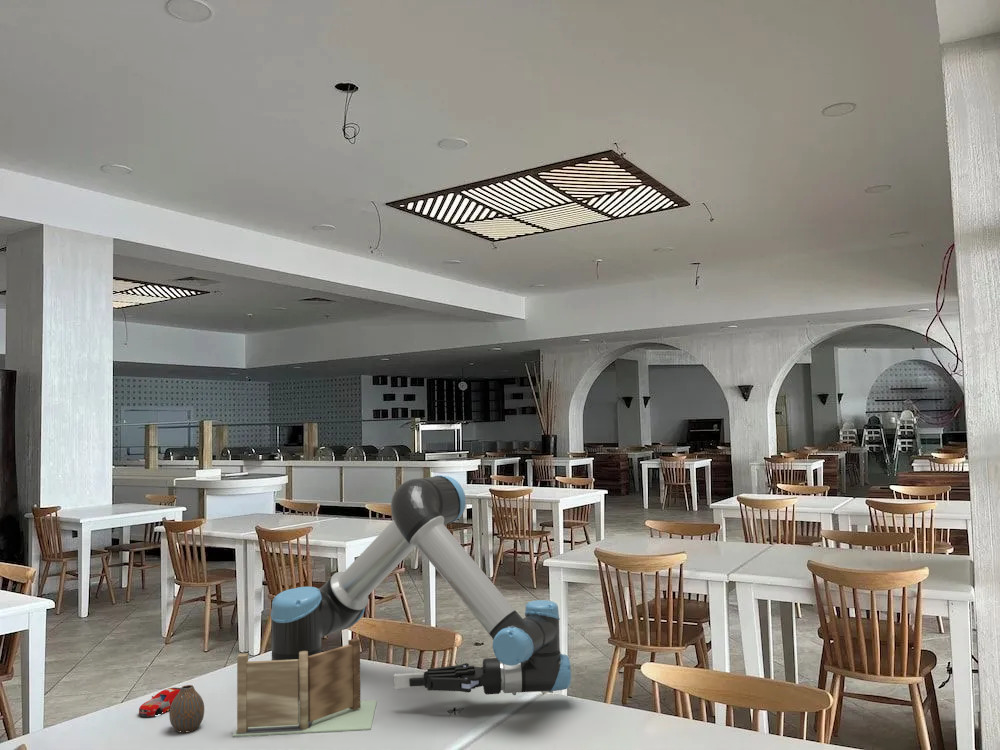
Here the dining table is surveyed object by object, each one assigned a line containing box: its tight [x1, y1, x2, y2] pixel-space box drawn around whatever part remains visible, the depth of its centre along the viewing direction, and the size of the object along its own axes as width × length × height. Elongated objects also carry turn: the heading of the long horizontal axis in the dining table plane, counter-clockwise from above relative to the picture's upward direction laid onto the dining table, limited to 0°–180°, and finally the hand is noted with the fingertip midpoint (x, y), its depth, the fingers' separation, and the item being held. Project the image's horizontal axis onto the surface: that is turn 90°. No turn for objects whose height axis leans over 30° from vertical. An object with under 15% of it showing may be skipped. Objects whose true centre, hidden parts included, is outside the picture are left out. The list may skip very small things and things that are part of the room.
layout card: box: [232, 699, 378, 738], centre depth 170 cm, size 17×28×1 cm, turn 95°
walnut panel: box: [308, 638, 361, 722], centre depth 170 cm, size 13×2×15 cm, turn 140°
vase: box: [168, 684, 205, 733], centre depth 166 cm, size 7×7×9 cm
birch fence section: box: [236, 651, 308, 733], centre depth 164 cm, size 2×14×16 cm, turn 94°
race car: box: [138, 687, 181, 718], centre depth 179 cm, size 13×5×4 cm, turn 154°
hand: (394, 681), depth 173 cm, fingers closed
